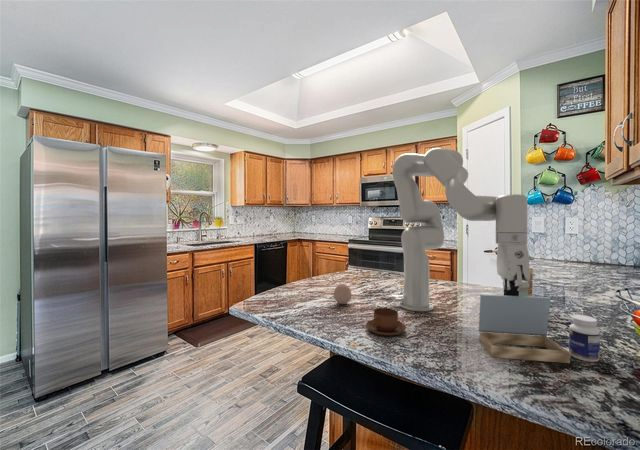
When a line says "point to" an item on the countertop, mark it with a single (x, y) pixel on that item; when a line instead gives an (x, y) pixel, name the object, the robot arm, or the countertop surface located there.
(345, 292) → the egg
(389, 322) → the cup and saucer
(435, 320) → the countertop surface
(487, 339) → the hinged lid wooden box
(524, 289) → the coffee cup
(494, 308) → the cover
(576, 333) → the pill bottle
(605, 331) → the countertop surface
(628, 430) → the countertop surface
